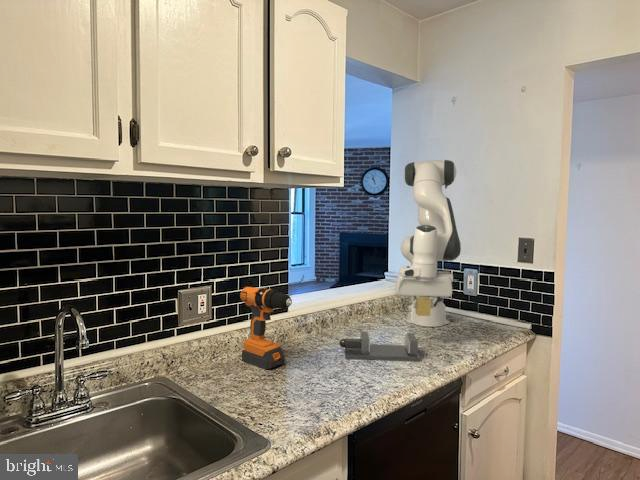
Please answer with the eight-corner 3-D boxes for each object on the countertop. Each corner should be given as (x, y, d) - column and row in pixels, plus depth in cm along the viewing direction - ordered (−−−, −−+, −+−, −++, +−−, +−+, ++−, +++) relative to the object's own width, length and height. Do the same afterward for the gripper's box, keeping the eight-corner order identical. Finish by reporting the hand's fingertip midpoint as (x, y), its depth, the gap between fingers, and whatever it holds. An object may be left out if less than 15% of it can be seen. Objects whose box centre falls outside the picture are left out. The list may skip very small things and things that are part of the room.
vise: (344, 347, 162) (345, 330, 161) (413, 349, 160) (414, 332, 160) (344, 358, 150) (345, 340, 149) (419, 361, 148) (420, 342, 148)
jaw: (339, 344, 160) (339, 330, 160) (368, 345, 160) (368, 331, 159) (339, 352, 151) (339, 338, 151) (369, 353, 151) (370, 339, 150)
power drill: (300, 370, 139) (301, 291, 137) (283, 376, 133) (284, 295, 131) (253, 354, 153) (254, 282, 151) (237, 359, 147) (237, 285, 145)
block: (415, 312, 164) (416, 296, 163) (427, 312, 164) (428, 296, 163) (417, 315, 160) (418, 299, 159) (430, 316, 159) (430, 299, 159)
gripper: (451, 269, 163) (449, 306, 164) (395, 268, 164) (394, 304, 165) (455, 272, 156) (453, 311, 158) (397, 271, 157) (396, 309, 159)
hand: (422, 307), depth 162 cm, fingers closed on block, 4 cm apart
